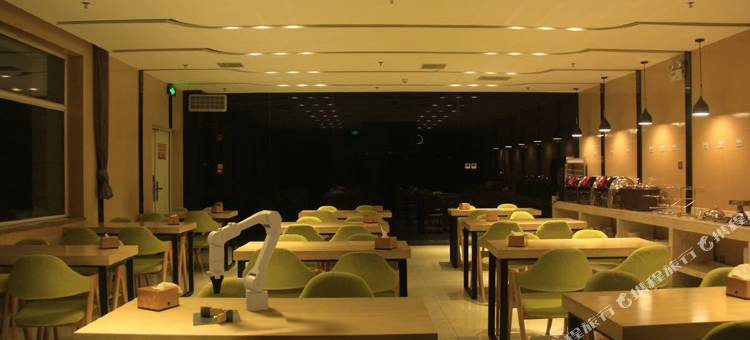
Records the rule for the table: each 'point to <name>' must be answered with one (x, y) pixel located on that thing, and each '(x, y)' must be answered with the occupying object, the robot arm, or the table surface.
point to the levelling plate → (213, 319)
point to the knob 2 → (225, 316)
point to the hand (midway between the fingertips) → (216, 293)
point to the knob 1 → (210, 311)
